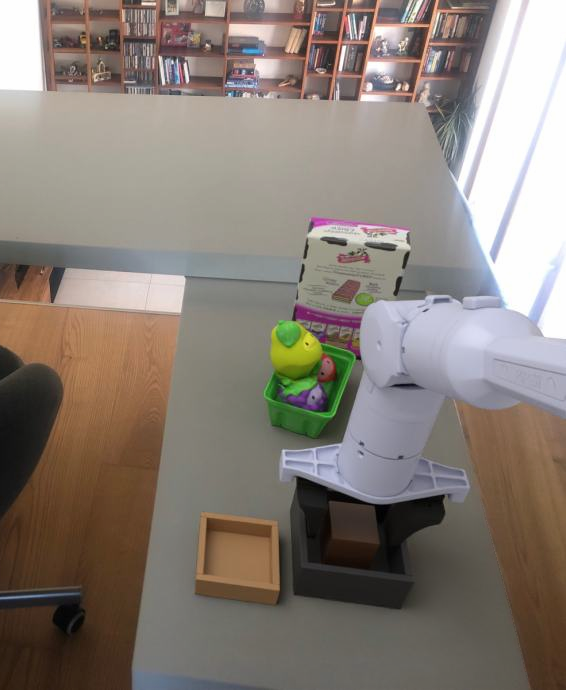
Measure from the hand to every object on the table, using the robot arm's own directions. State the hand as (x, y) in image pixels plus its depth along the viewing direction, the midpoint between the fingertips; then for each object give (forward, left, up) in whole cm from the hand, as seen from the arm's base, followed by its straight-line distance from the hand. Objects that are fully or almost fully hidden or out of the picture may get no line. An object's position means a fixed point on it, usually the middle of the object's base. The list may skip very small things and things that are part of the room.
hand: (350, 533), depth 62 cm
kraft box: (+6, +8, -4) cm, 11 cm away
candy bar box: (+19, -25, -4) cm, 32 cm away
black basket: (0, 0, -4) cm, 4 cm away
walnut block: (0, 0, -3) cm, 3 cm away
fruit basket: (+15, -13, -4) cm, 20 cm away
